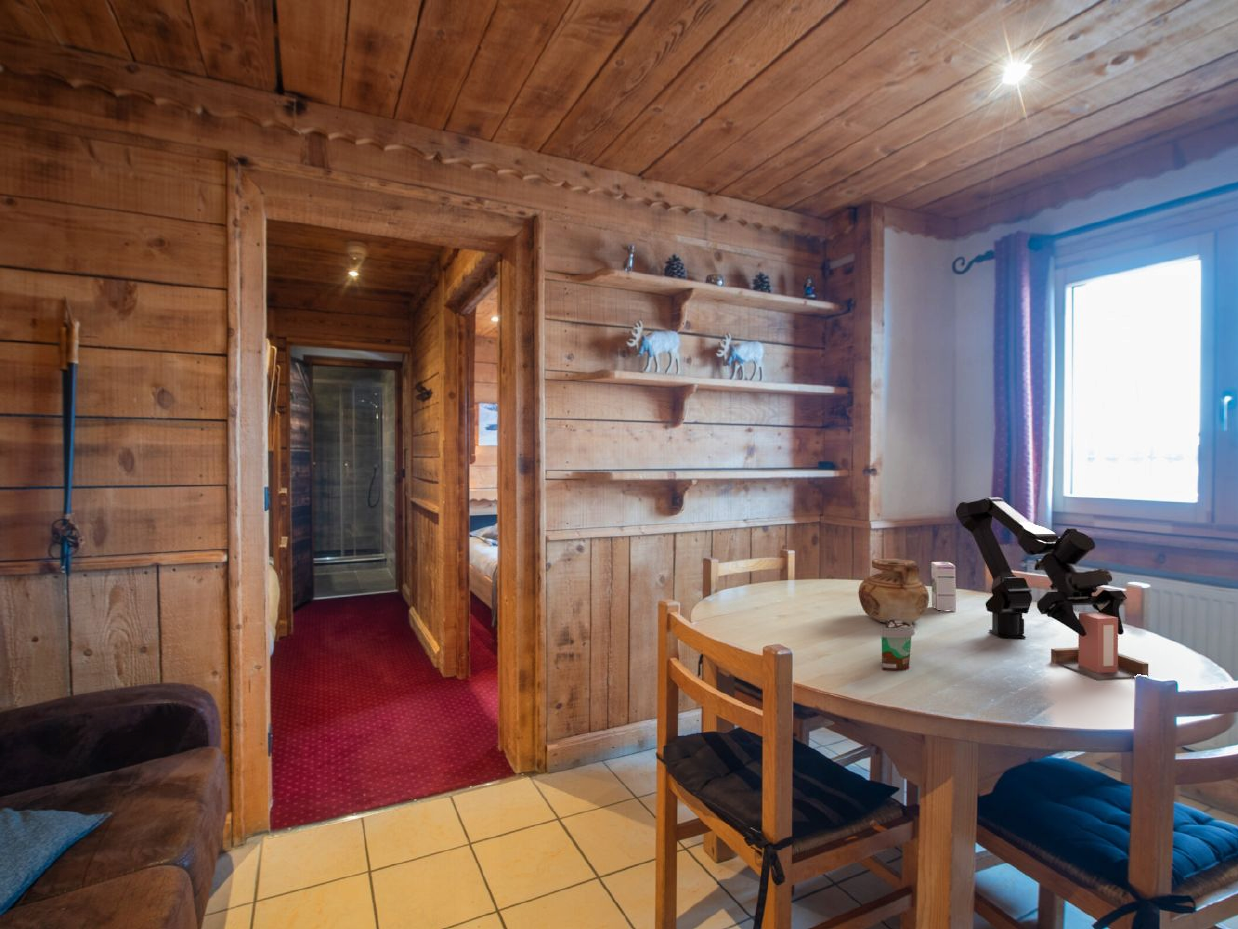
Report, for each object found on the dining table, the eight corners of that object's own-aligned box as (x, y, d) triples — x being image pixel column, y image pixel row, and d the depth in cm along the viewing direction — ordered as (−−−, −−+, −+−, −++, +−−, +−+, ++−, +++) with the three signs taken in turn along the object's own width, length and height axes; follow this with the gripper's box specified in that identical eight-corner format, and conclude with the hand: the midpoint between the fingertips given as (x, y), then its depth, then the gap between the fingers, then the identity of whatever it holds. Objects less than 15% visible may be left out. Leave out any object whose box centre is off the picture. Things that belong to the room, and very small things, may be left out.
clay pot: (840, 610, 186) (854, 545, 191) (873, 624, 197) (886, 562, 201) (903, 623, 171) (917, 552, 175) (935, 637, 181) (947, 570, 186)
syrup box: (956, 612, 195) (956, 565, 195) (936, 611, 196) (936, 564, 196) (950, 607, 200) (950, 561, 200) (930, 606, 202) (930, 561, 201)
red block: (1078, 665, 145) (1078, 613, 144) (1097, 664, 145) (1098, 612, 145) (1098, 673, 140) (1098, 619, 139) (1118, 672, 140) (1118, 618, 140)
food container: (910, 677, 139) (910, 631, 139) (881, 672, 143) (881, 627, 142) (918, 661, 150) (918, 619, 150) (890, 656, 153) (890, 615, 153)
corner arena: (1096, 680, 136) (1097, 666, 136) (1051, 661, 149) (1051, 648, 149) (1148, 677, 138) (1148, 663, 138) (1098, 659, 150) (1098, 646, 150)
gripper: (1046, 557, 145) (1087, 617, 134) (1119, 554, 147) (1165, 614, 136) (1020, 584, 153) (1057, 643, 142) (1090, 581, 155) (1131, 639, 144)
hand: (1103, 634), depth 141 cm, fingers open, 9 cm apart
